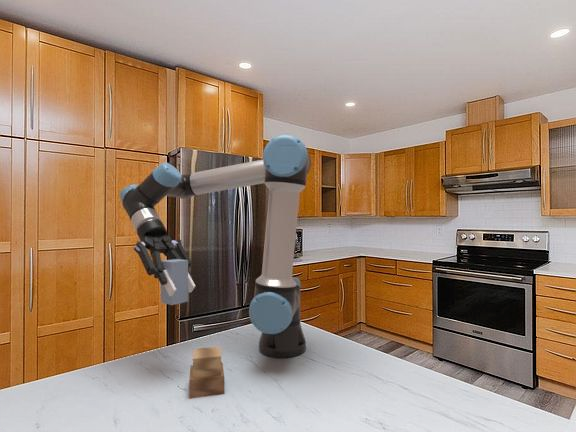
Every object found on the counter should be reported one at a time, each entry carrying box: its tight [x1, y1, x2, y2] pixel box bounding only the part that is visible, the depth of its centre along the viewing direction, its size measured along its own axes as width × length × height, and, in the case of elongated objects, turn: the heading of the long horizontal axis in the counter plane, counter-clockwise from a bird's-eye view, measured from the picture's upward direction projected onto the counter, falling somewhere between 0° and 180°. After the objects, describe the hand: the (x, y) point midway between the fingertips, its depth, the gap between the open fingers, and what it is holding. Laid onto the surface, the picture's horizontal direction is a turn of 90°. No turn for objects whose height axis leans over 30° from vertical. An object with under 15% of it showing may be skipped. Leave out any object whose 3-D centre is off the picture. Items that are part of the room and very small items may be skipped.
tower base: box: [188, 361, 225, 399], centre depth 83 cm, size 8×8×4 cm
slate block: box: [160, 259, 189, 306], centre depth 90 cm, size 5×5×11 cm
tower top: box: [192, 345, 222, 378], centre depth 83 cm, size 6×6×4 cm
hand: (182, 291), depth 87 cm, fingers closed on slate block, 5 cm apart
